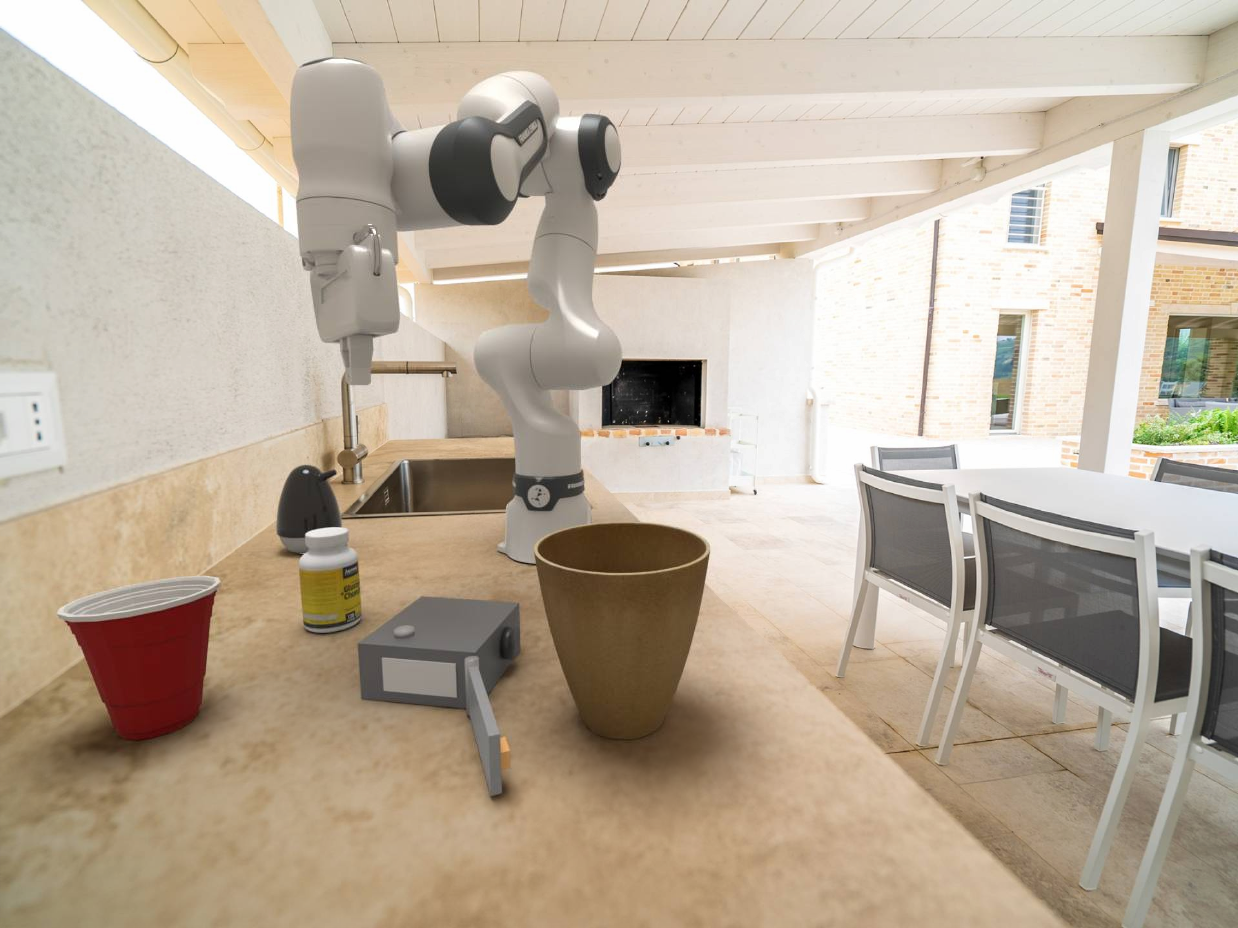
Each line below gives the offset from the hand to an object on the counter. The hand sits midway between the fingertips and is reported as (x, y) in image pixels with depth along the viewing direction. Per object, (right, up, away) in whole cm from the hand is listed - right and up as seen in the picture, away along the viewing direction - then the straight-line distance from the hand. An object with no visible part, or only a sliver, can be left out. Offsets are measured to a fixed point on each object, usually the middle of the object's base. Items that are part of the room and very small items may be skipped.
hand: (358, 385), depth 59 cm
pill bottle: (-9, -28, +13) cm, 32 cm away
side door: (+16, -31, -12) cm, 36 cm away
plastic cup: (-14, -31, -8) cm, 35 cm away
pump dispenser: (-28, -23, +44) cm, 57 cm away
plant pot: (+27, -31, -7) cm, 41 cm away
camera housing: (+9, -29, +1) cm, 31 cm away
